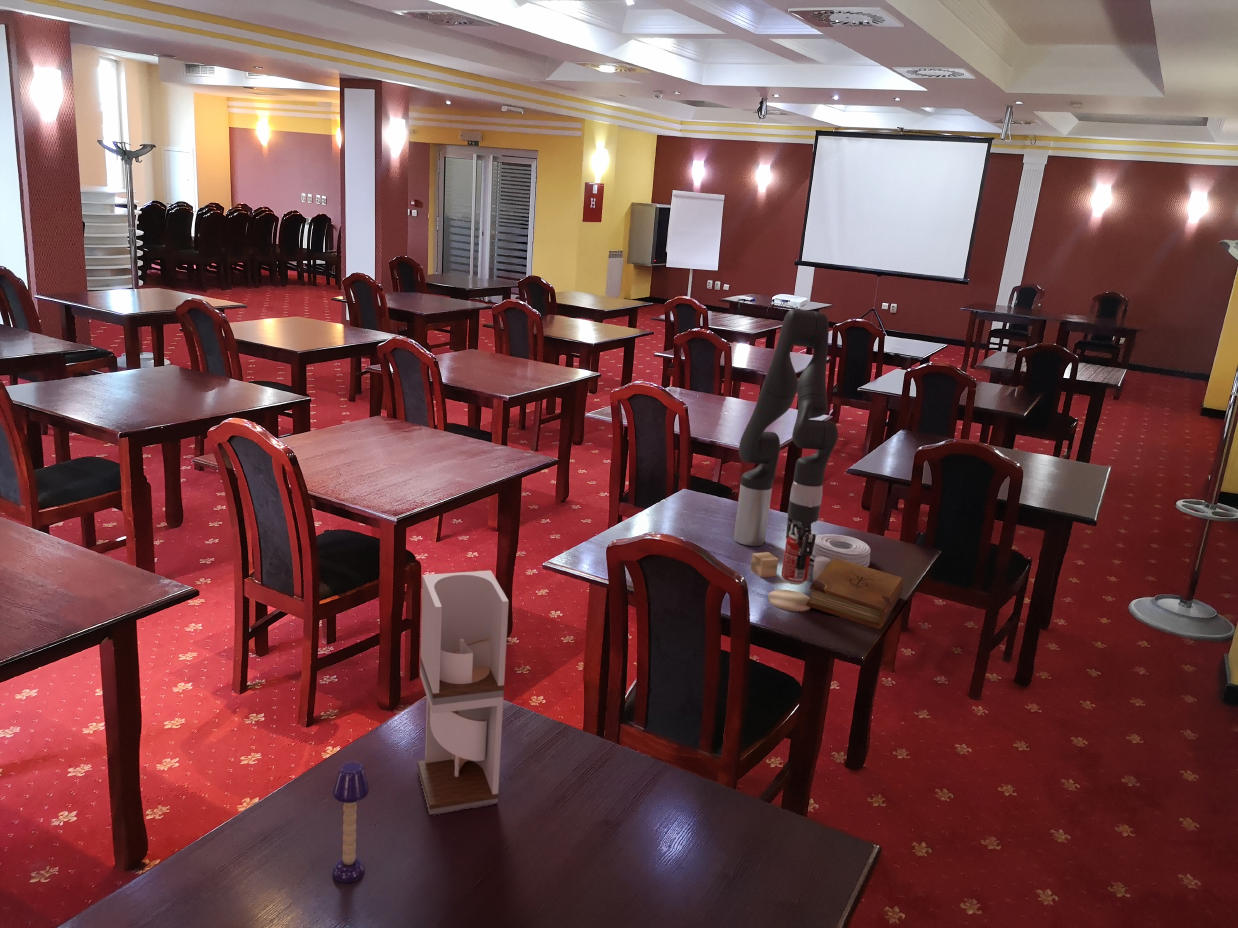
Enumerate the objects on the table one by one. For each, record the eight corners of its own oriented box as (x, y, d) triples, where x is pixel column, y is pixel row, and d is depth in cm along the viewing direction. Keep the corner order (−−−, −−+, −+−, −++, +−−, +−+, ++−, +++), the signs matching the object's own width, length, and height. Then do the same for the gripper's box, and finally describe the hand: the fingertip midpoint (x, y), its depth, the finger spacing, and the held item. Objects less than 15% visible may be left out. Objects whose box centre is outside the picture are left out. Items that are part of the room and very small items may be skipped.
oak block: (750, 570, 243) (752, 553, 241) (766, 569, 245) (768, 552, 243) (760, 577, 238) (762, 560, 237) (775, 576, 240) (778, 559, 239)
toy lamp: (337, 858, 126) (336, 756, 122) (370, 858, 127) (371, 757, 122) (329, 883, 122) (328, 778, 117) (364, 883, 122) (365, 778, 118)
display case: (417, 771, 147) (422, 574, 137) (481, 762, 151) (490, 570, 141) (429, 815, 137) (435, 606, 127) (497, 804, 140) (508, 600, 131)
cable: (802, 565, 250) (805, 545, 248) (810, 545, 266) (813, 526, 264) (866, 578, 245) (870, 557, 243) (870, 557, 261) (874, 537, 259)
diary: (881, 630, 213) (886, 609, 212) (806, 606, 221) (810, 585, 220) (900, 597, 233) (905, 577, 231) (830, 576, 241) (834, 556, 239)
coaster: (762, 592, 229) (763, 589, 229) (803, 592, 231) (803, 590, 231) (775, 611, 219) (776, 608, 218) (818, 611, 220) (819, 608, 220)
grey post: (810, 576, 242) (813, 555, 240) (825, 577, 242) (828, 556, 241) (813, 582, 238) (816, 561, 237) (828, 583, 238) (831, 562, 237)
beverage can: (804, 577, 226) (811, 532, 223) (807, 587, 220) (814, 541, 217) (779, 574, 226) (786, 530, 223) (781, 584, 220) (788, 538, 217)
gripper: (781, 490, 224) (772, 552, 228) (800, 509, 210) (790, 575, 215) (809, 491, 225) (800, 553, 229) (830, 510, 211) (820, 576, 216)
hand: (795, 563), depth 222 cm, fingers closed on beverage can, 6 cm apart
